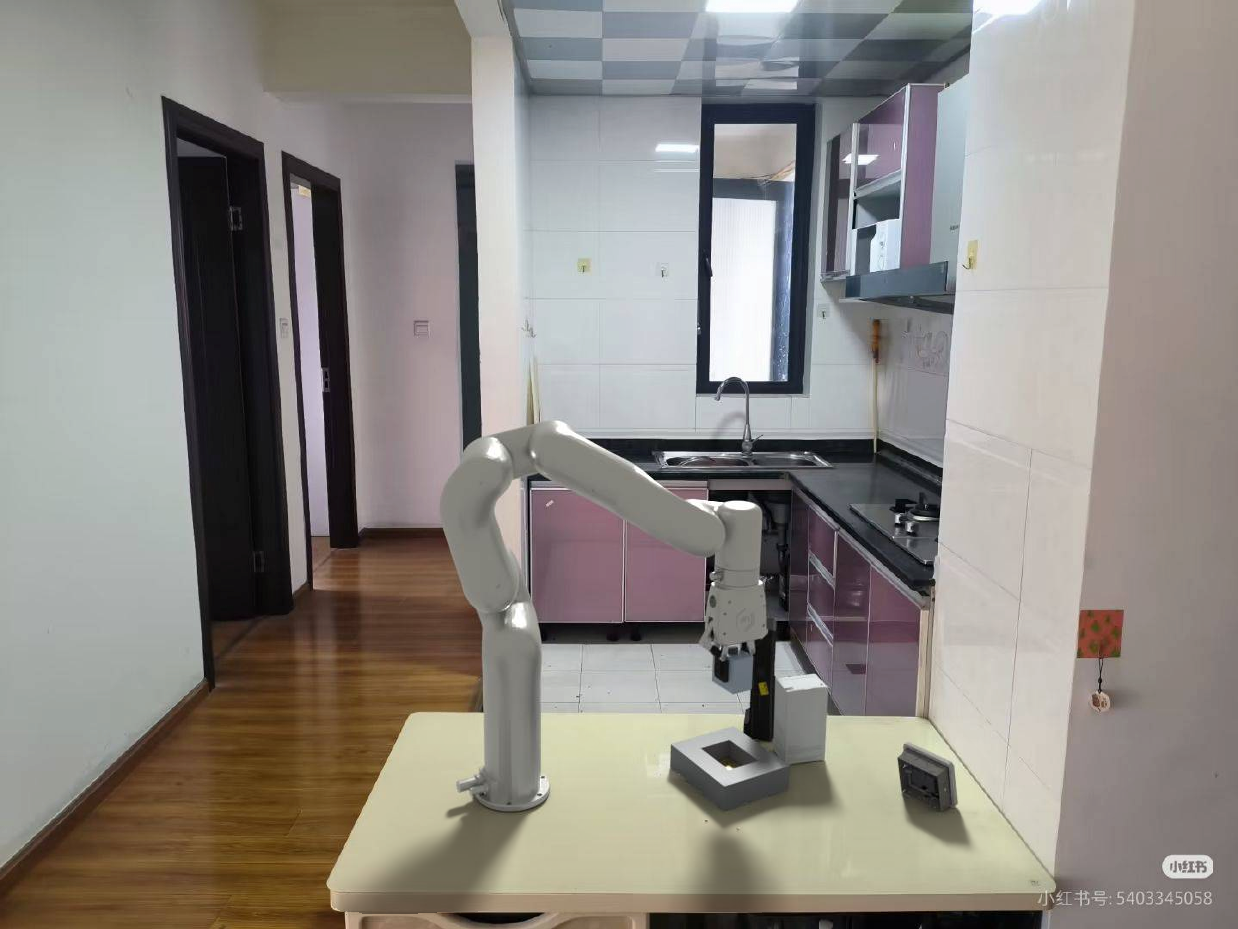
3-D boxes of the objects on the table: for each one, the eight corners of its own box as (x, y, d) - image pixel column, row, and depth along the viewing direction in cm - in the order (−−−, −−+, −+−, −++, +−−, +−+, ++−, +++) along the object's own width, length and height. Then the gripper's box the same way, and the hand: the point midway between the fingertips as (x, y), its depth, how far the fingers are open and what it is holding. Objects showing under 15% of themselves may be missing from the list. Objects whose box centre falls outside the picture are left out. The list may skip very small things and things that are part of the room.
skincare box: (812, 746, 171) (816, 672, 168) (826, 762, 165) (830, 686, 162) (770, 750, 169) (774, 675, 166) (783, 766, 163) (787, 689, 160)
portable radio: (774, 745, 170) (781, 620, 166) (742, 742, 172) (748, 617, 167) (775, 726, 178) (782, 605, 173) (745, 723, 179) (750, 603, 174)
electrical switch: (958, 808, 151) (960, 759, 149) (940, 821, 148) (942, 771, 146) (910, 784, 158) (911, 736, 156) (892, 796, 155) (892, 748, 153)
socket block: (723, 811, 149) (724, 786, 148) (670, 767, 162) (670, 744, 161) (789, 789, 156) (790, 765, 155) (732, 748, 169) (733, 726, 168)
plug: (733, 694, 152) (734, 656, 151) (711, 681, 157) (713, 644, 156) (751, 689, 154) (753, 652, 153) (730, 676, 159) (731, 640, 158)
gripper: (709, 589, 144) (705, 695, 148) (789, 574, 153) (784, 675, 156) (682, 575, 151) (679, 678, 154) (761, 562, 159) (756, 660, 163)
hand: (732, 675), depth 155 cm, fingers closed on plug, 4 cm apart
